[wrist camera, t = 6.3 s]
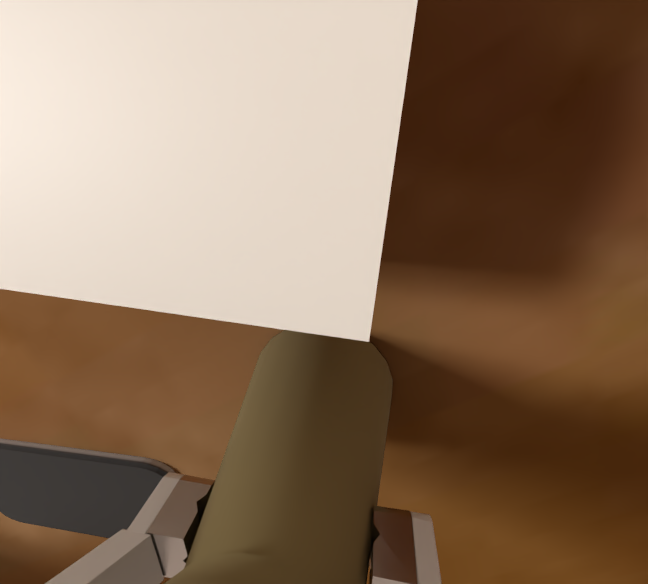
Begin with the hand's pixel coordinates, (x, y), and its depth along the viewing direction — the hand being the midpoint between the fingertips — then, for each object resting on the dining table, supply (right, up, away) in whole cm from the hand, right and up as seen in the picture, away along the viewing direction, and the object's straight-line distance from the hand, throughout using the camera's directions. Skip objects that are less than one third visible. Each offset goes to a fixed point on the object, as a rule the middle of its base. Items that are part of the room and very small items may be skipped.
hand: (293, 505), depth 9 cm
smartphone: (-15, -7, +12) cm, 20 cm away
